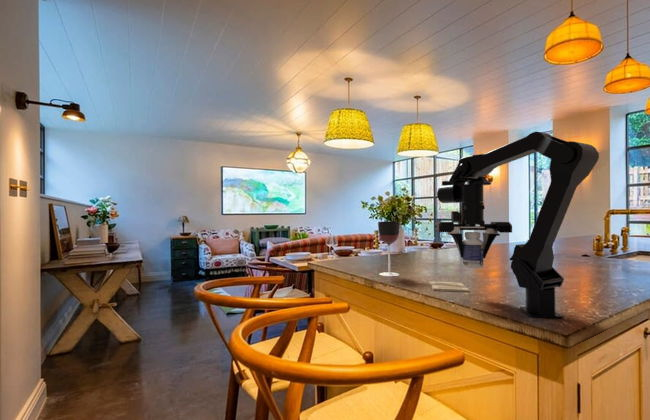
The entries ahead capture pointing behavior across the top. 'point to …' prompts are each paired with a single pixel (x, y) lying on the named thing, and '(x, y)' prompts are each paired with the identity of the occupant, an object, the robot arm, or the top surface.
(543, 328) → the top surface
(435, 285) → the coaster
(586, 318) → the top surface
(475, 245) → the pill bottle
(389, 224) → the wineglass
